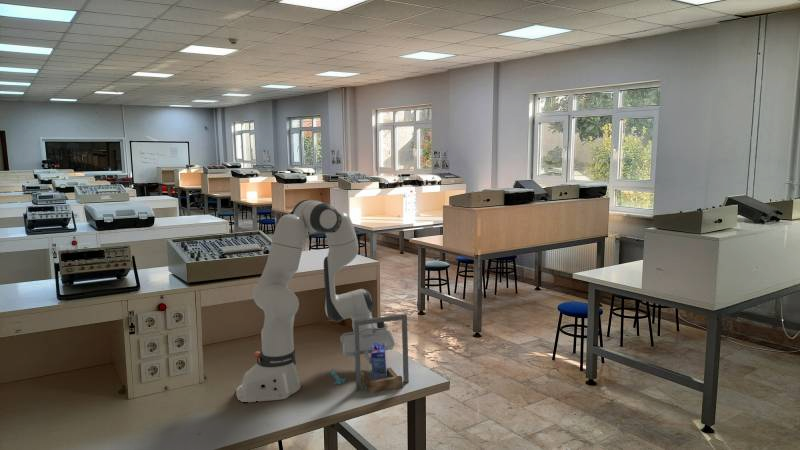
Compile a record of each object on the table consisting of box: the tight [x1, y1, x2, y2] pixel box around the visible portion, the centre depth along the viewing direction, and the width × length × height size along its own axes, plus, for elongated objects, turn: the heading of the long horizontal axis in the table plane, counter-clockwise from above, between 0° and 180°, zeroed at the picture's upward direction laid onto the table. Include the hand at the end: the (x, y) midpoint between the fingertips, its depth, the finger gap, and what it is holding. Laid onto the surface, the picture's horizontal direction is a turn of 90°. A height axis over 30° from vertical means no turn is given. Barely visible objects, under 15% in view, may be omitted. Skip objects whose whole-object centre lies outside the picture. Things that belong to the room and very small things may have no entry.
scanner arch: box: [353, 313, 410, 392], centre depth 199 cm, size 20×2×26 cm, turn 109°
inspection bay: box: [361, 367, 403, 395], centre depth 202 cm, size 12×14×4 cm
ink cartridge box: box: [370, 341, 388, 381], centre depth 205 cm, size 10×6×14 cm, turn 2°
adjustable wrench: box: [328, 369, 347, 386], centre depth 209 cm, size 14×1×5 cm
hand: (372, 362), depth 211 cm, fingers closed
